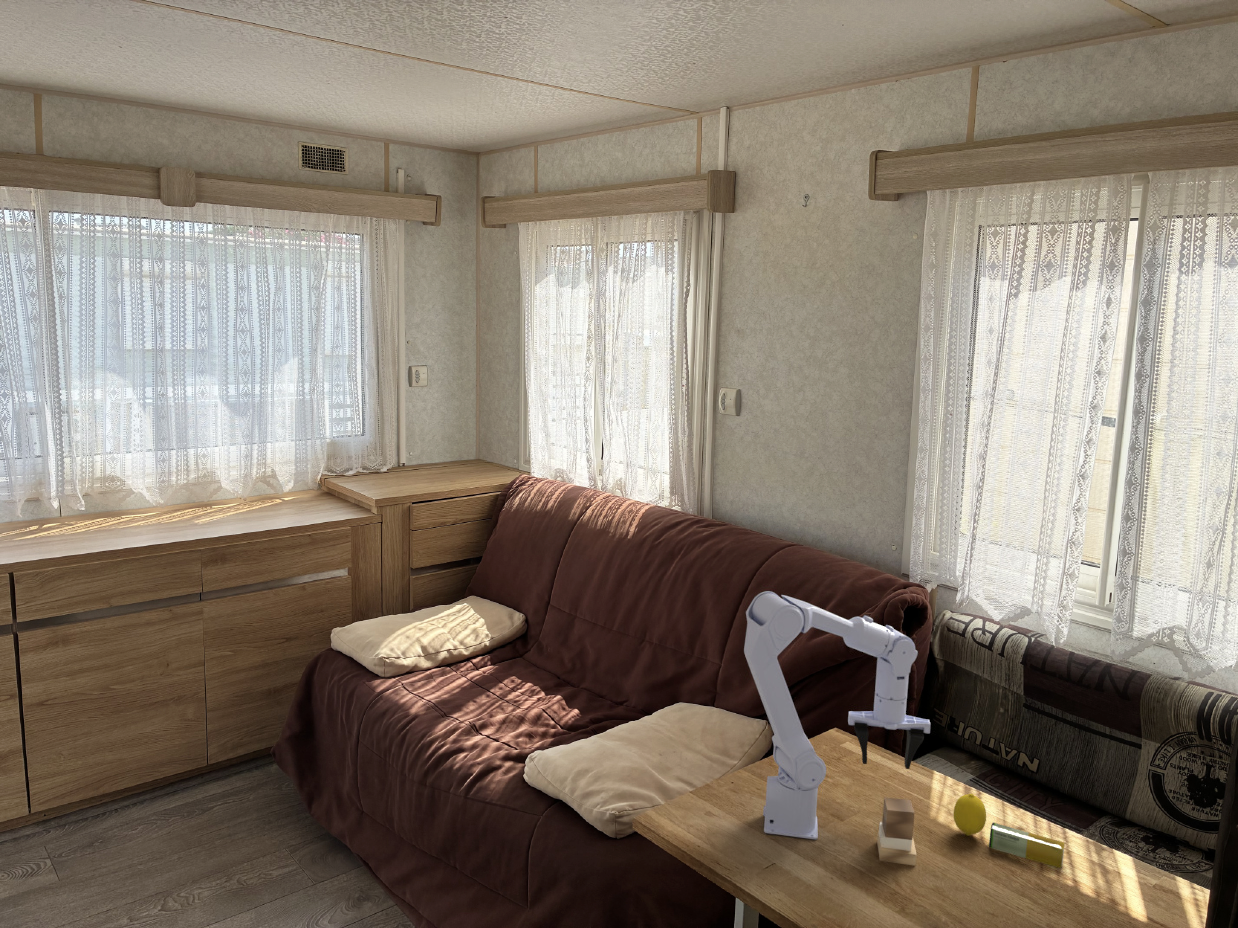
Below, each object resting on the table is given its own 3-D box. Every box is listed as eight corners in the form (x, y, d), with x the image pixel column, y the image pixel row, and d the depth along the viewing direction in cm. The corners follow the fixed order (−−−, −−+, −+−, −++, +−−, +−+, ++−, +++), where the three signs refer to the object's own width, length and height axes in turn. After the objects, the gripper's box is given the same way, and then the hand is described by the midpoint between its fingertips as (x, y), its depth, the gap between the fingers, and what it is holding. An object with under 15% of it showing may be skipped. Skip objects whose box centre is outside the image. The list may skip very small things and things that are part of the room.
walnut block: (885, 836, 160) (887, 809, 159) (882, 823, 164) (884, 797, 163) (912, 839, 159) (914, 812, 158) (908, 826, 163) (910, 799, 163)
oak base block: (879, 863, 160) (880, 849, 159) (876, 845, 165) (877, 831, 165) (915, 868, 158) (916, 854, 158) (911, 849, 164) (912, 836, 164)
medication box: (987, 848, 165) (989, 827, 164) (990, 841, 167) (992, 820, 167) (1061, 870, 159) (1064, 848, 158) (1063, 862, 161) (1065, 841, 161)
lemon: (986, 845, 166) (990, 803, 164) (954, 840, 167) (957, 799, 166) (981, 829, 171) (985, 788, 170) (949, 825, 172) (953, 784, 171)
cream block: (881, 846, 160) (881, 836, 160) (878, 832, 165) (879, 821, 165) (911, 850, 159) (911, 840, 159) (908, 836, 164) (908, 825, 164)
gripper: (851, 698, 169) (846, 768, 171) (934, 706, 166) (928, 778, 168) (849, 684, 176) (845, 752, 177) (929, 692, 173) (923, 761, 175)
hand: (885, 764), depth 173 cm, fingers open, 7 cm apart
